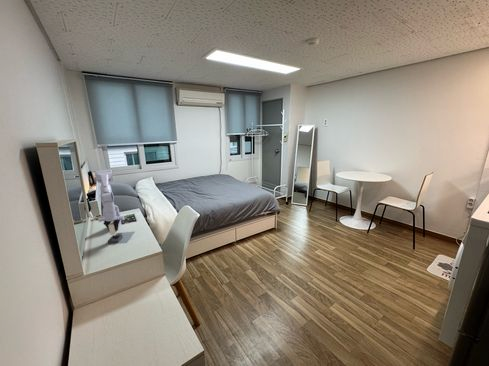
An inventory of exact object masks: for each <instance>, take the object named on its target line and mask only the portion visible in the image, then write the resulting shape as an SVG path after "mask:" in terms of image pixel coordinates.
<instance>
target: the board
mask: <svg viewBox="0 0 489 366" xmlns="http://www.w3.org/2000/svg"><path fill="white" fill-rule="evenodd" d="M135 233H136V231H127V232H117V233H116V234H115V235H122V236H123V238H122V239H121V240H120V241H119V243H111V244H108V243H107V244H106V245H119V244H128V242H129V241H130V240H131V239H132V237H133V236H134V234H135ZM117 239H118V238H115V239H113V240H117Z"/></svg>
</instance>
